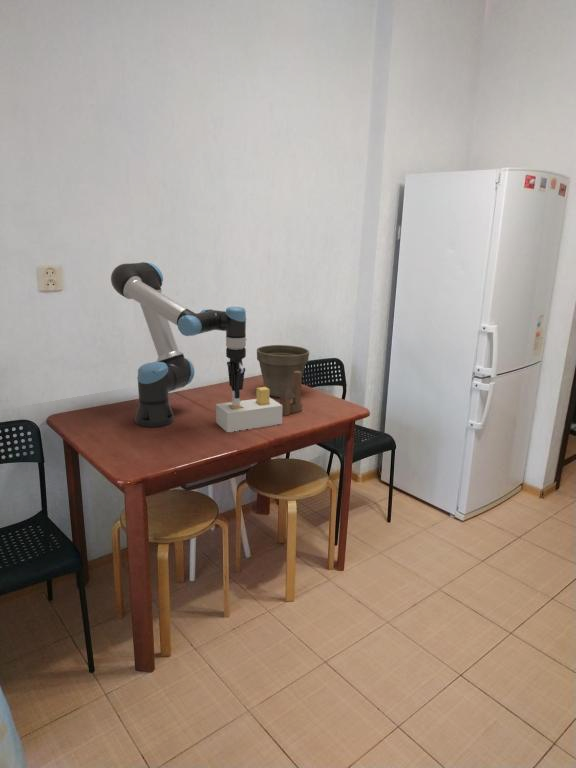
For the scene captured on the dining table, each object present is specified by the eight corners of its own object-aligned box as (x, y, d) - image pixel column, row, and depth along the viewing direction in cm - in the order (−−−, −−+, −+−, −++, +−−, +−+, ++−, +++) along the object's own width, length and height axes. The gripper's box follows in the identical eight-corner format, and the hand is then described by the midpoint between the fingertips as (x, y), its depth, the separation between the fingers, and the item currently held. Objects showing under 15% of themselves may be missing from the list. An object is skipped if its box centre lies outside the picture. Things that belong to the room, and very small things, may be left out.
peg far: (260, 408, 217) (260, 390, 215) (256, 405, 221) (256, 387, 218) (269, 406, 219) (269, 389, 217) (264, 404, 222) (265, 386, 220)
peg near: (232, 425, 213) (233, 407, 211) (229, 422, 217) (229, 404, 215) (242, 424, 215) (242, 406, 213) (238, 421, 219) (238, 403, 216)
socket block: (227, 432, 208) (227, 413, 206) (216, 422, 218) (216, 404, 216) (281, 423, 219) (282, 405, 217) (268, 414, 230) (269, 397, 227)
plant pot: (288, 383, 277) (289, 342, 271) (317, 396, 257) (319, 352, 251) (246, 390, 263) (247, 347, 257) (273, 404, 244) (275, 357, 238)
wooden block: (278, 414, 231) (279, 373, 226) (296, 409, 238) (297, 369, 233) (284, 416, 228) (285, 375, 223) (302, 411, 236) (303, 371, 231)
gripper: (251, 350, 203) (251, 408, 210) (238, 343, 214) (238, 399, 221) (233, 351, 200) (233, 411, 206) (220, 344, 211) (221, 401, 217)
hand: (235, 405), depth 214 cm, fingers closed
